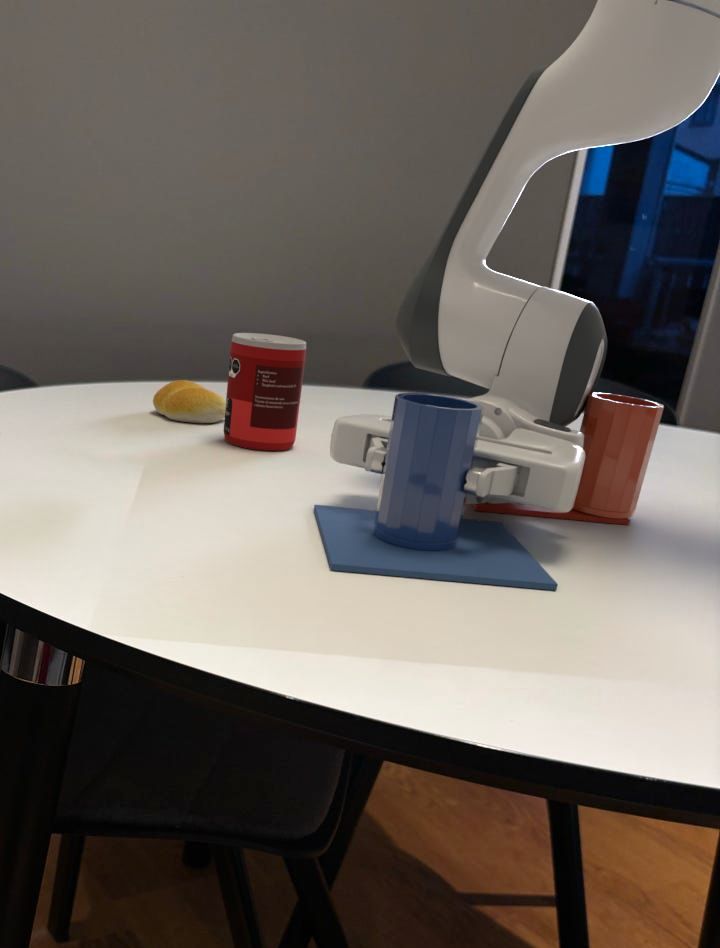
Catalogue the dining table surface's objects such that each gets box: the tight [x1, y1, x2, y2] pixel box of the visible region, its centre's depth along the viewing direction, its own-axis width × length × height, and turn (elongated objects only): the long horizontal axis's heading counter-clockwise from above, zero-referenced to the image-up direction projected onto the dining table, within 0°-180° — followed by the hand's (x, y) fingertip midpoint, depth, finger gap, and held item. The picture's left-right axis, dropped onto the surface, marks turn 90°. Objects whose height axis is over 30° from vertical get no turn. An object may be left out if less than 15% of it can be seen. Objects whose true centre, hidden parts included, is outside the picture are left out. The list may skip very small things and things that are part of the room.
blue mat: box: [313, 504, 558, 591], centre depth 78 cm, size 16×16×1 cm
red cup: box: [572, 392, 665, 519], centre depth 92 cm, size 6×6×10 cm
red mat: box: [470, 502, 631, 526], centre depth 98 cm, size 14×16×1 cm
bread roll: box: [152, 379, 226, 424], centre depth 119 cm, size 8×9×4 cm
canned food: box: [223, 332, 307, 452], centre depth 107 cm, size 8×8×11 cm
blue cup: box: [374, 392, 484, 551], centre depth 76 cm, size 6×6×10 cm
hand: (423, 472), depth 76 cm, fingers closed on blue cup, 6 cm apart
